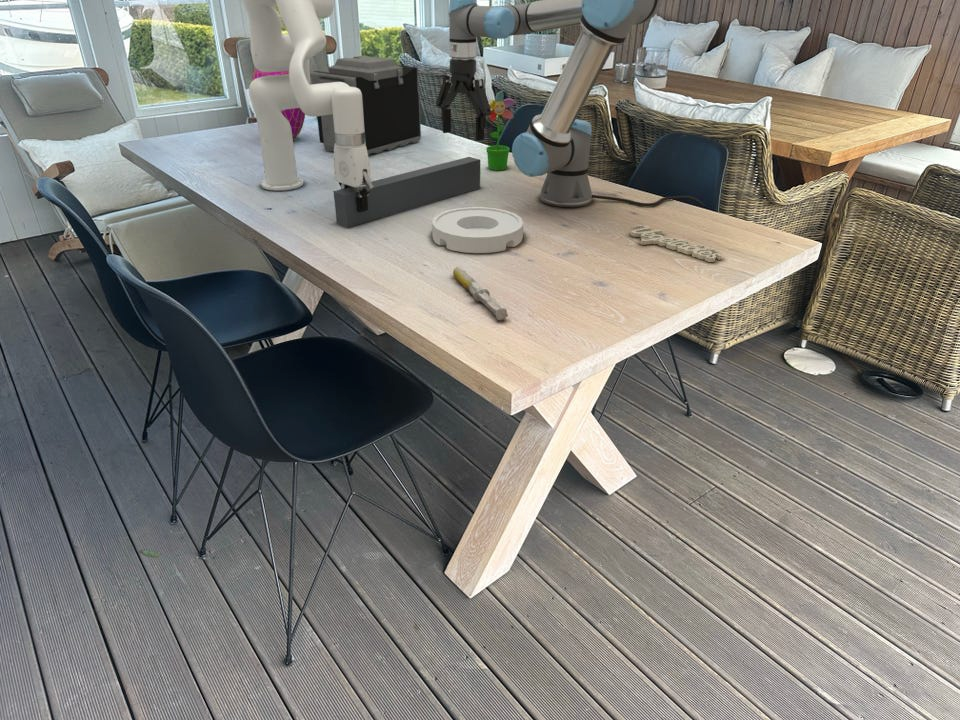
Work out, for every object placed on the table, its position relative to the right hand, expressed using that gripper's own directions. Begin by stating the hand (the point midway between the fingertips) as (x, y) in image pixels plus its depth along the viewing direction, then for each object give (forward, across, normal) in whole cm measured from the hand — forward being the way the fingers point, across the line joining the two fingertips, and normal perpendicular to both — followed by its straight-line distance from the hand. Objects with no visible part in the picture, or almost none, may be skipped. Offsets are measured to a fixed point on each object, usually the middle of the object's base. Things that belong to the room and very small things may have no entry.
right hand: (463, 136), depth 203 cm
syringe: (+16, +56, -53) cm, 79 cm away
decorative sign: (+16, +70, +2) cm, 72 cm away
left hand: (+12, 0, -41) cm, 43 cm away
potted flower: (+16, -9, +26) cm, 32 cm away
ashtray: (+16, +31, -27) cm, 44 cm away
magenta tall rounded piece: (+16, -94, -3) cm, 95 cm away
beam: (+16, 0, -20) cm, 26 cm away
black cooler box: (+16, -63, +15) cm, 67 cm away
